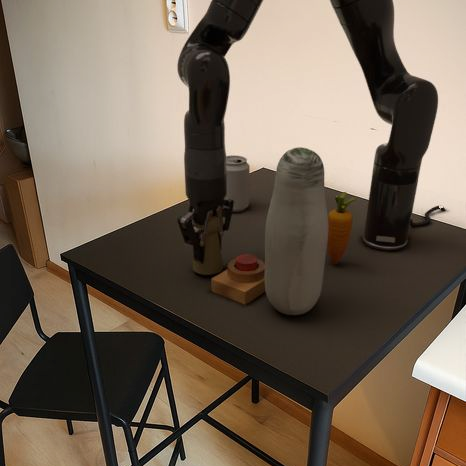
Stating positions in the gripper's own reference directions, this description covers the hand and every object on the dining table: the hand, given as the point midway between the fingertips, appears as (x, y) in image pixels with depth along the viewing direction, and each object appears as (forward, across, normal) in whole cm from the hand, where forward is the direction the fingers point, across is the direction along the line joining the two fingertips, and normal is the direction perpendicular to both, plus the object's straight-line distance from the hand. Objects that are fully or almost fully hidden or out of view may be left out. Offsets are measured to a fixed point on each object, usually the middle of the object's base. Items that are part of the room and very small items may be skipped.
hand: (207, 257), depth 115 cm
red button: (-1, 0, -10) cm, 10 cm away
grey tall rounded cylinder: (+3, -2, -21) cm, 21 cm away
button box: (+3, 0, -10) cm, 10 cm away
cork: (+2, 0, 0) cm, 2 cm away
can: (+3, +30, +17) cm, 34 cm away
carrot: (+3, +18, -18) cm, 26 cm away
